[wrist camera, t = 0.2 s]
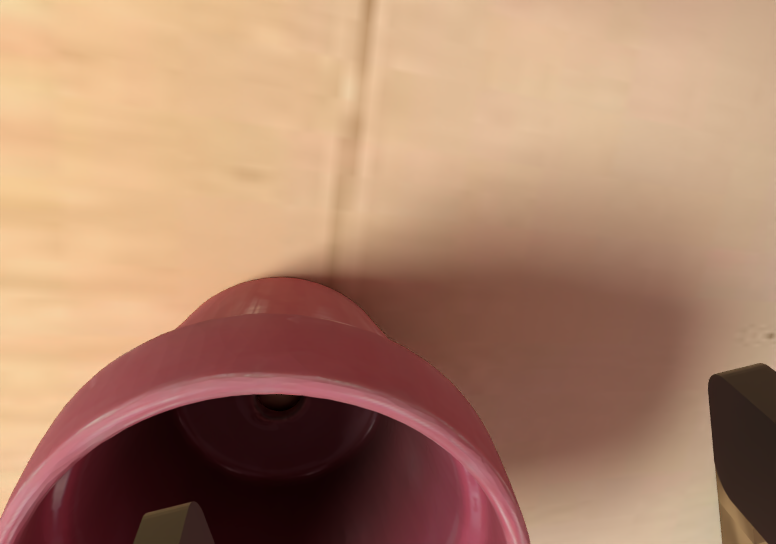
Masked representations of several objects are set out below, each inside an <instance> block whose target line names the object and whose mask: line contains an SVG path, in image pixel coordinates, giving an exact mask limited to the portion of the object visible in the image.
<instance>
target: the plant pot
mask: <svg viewBox="0 0 776 544" xmlns="http://www.w3.org/2000/svg"><path fill="white" fill-rule="evenodd" d="M256 394H288V395H301V397H300V400H299V401H298V403H297V404H296V405H295V406H294V407H292V408H290V409H288V410H286V411H281V412H277V411H273V410H270V409H268V408H266V407H265V406H263V405H262V404H261V403H260V402H259V400H258V399H257V396H256ZM194 501H195V502H197V503H198V504H199V506H200V507H201V509H202V511H203V514H204V516H205V519H206V522H207V524H208V527H209V530H210V532H211V535H212V538H213V540H214V543H215V544H530V539H529V535H528V531H527V528H526V525H525V522H524V518H523V515H522V513H521V510H520V507H519V505H518V502H517V500H516V497H515V494H514V492H513V489H512V486H511V484H510V481H509V479H508V477H507V474H506V472H505V469H504V467H503V465H502V462H501V460H500V458H499V455H498V453H497V451H496V449H495V446H494V444H493V442H492V440H491V438H490V436H489V434H488V432H487V430H486V428H485V426H484V425H483V423H482V421H481V419H480V418H479V416H478V415H477V413H476V412H475V411H474V409H473V408H472V406H471V405H470V403H469V402H468V401H467V400H466V398H465V397H464V396H463V395H462V394H461V392H460V391H459V390H458V389H457V388H456V387H455V386H454V385H453V384H452V383H451V382H450V381H449V380H448V379H447V378H446V377H445V376H444V375H443V374H441V373H440V372H439V371H438V370H437V369H435V368H434V367H433V366H432V365H431V364H429V363H428V362H427V361H425V360H424V359H422V358H421V357H419V356H418V355H416V354H414V353H413V352H411V351H410V350H408V349H407V348H405V347H403V346H401V345H399V344H397V343H395V342H393V341H391V340H389V339H388V338H387V337H386V336H385V335H384V333H383V332H382V331H381V330H380V329H379V328H378V327H377V326H376V325H375V323H374V322H373V321H372V320H371V319H370V317H369V316H368V315H367V314H366V313H365V312H364V311H363V310H362V309H361V308H360V307H359V306H358V305H356V304H355V303H354V302H353V301H352V300H350V299H349V298H347V297H346V296H344V295H343V294H341V293H339V292H337V291H335V290H333V289H331V288H329V287H326V286H324V285H321V284H319V283H315V282H311V281H308V280H304V279H297V278H284V277H276V278H264V279H258V280H252V281H248V282H244V283H241V284H238V285H236V286H233V287H231V288H228V289H226V290H224V291H222V292H220V293H218V294H217V295H215V296H213V297H211V298H210V299H209V300H207V301H206V302H204V303H203V304H202V305H201V306H200V307H199V308H198V309H196V310H195V311H194V312H193V313H192V314H191V315H190V316H189V317H188V318H187V319H186V320H185V321H184V322H183V323H182V324H181V325H180V326H179V327H177V328H176V329H175V330H173V331H170V332H167V333H165V334H162V335H160V336H158V337H156V338H153V339H151V340H149V341H147V342H145V343H143V344H141V345H140V346H138V347H136V348H134V349H132V350H130V351H129V352H127V353H125V354H123V355H122V356H120V357H119V358H117V359H116V360H114V361H113V362H111V363H110V364H108V365H107V366H106V367H105V368H103V369H102V370H101V371H99V372H98V373H97V374H96V375H95V376H94V377H93V378H92V379H91V380H89V381H88V382H87V383H86V384H85V385H84V386H83V387H82V388H81V389H80V390H79V391H78V392H77V393H76V394H75V395H74V396H73V398H72V399H71V400H70V401H69V402H68V403H67V404H66V405H65V407H64V408H63V409H62V411H61V412H60V413H59V415H58V416H57V417H56V419H55V420H54V422H53V423H52V425H51V426H50V428H49V429H48V431H47V432H46V434H45V435H44V437H43V438H42V440H41V441H40V443H39V444H38V446H37V448H36V450H35V451H34V453H33V455H32V457H31V458H30V460H29V462H28V464H27V466H26V468H25V470H24V471H23V473H22V475H21V477H20V479H19V481H18V483H17V485H16V486H15V488H14V490H13V492H12V494H11V496H10V498H9V501H8V503H7V505H6V507H5V509H4V512H3V514H2V516H1V518H0V544H133V543H134V540H135V537H136V534H137V531H138V529H139V526H140V523H141V520H142V518H143V516H144V515H145V514H146V513H148V512H152V511H157V510H161V509H165V508H169V507H173V506H177V505H181V504H185V503H189V502H194Z"/></svg>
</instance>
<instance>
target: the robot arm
mask: <svg viewBox="0 0 776 544" xmlns="http://www.w3.org/2000/svg"><path fill="white" fill-rule="evenodd" d="M708 394H709V406H710V417H711V429H712V440H713V452H714V462H715V467H716V471H717V474H718V477H719V480H720V482H721V484H722V486H723V489H724V491H725V492H726V494H727V496H728V497H729V499H730V500H731V501H732V503H733V504H734V505H735V506H736V507H737V508H738V510H739V511H740V512H741V513H742V514H743V515H744V517H745V518H746V519H747V520H748V521H749V522H750V523H751V525H752V526H753V527H754V528H755V529H756V530H757V531H758V533H759V534H760V535H761V536H762V537H763V538H764V540H765V541H766V542H767V543H768V544H776V372H775V371H774V370H773V369H772V368H770V367H769V366H767V365H766V364H763V363H758V364H754V365H750V366H746V367H742V368H738V369H734V370H730V371H726V372H722V373H718V374H714V375H712V376H711V377H710V379H709V383H708ZM133 544H215V543H214V540H213V538H212V535H211V532H210V530H209V527H208V524H207V522H206V519H205V516H204V514H203V511H202V509H201V507H200V506H199V504H198V503H197V502H195V501H194V502H189V503H185V504H181V505H177V506H173V507H169V508H165V509H161V510H157V511H152V512H148V513H146V514H145V515H144V516H143V518H142V520H141V523H140V526H139V529H138V531H137V534H136V537H135V540H134V543H133Z"/></svg>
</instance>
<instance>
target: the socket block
mask: <svg viewBox="0 0 776 544" xmlns="http://www.w3.org/2000/svg"><path fill="white" fill-rule="evenodd" d="M715 468H716V467H715ZM716 479H717V490H718V501H719V512H720V522H721V533H722V544H768V543H767V542H766V541H765V540H764V538H763V537H762V536H761V535H760V534H759V533H758V531H757V530H756V529H755V528H754V527H753V526H752V525H751V523H750V522H749V521H748V520H747V519H746V518H745V517H744V515H743V514H742V513H741V512H740V511H739V510H738V508H737V507H736V506H735V505H734V504H733V503H732V501H731V500H730V499H729V497H728V496H727V494H726V492H725V491H724V489H723V486H722V484H721V482H720V480H719V477H718V474H717V471H716Z"/></svg>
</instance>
